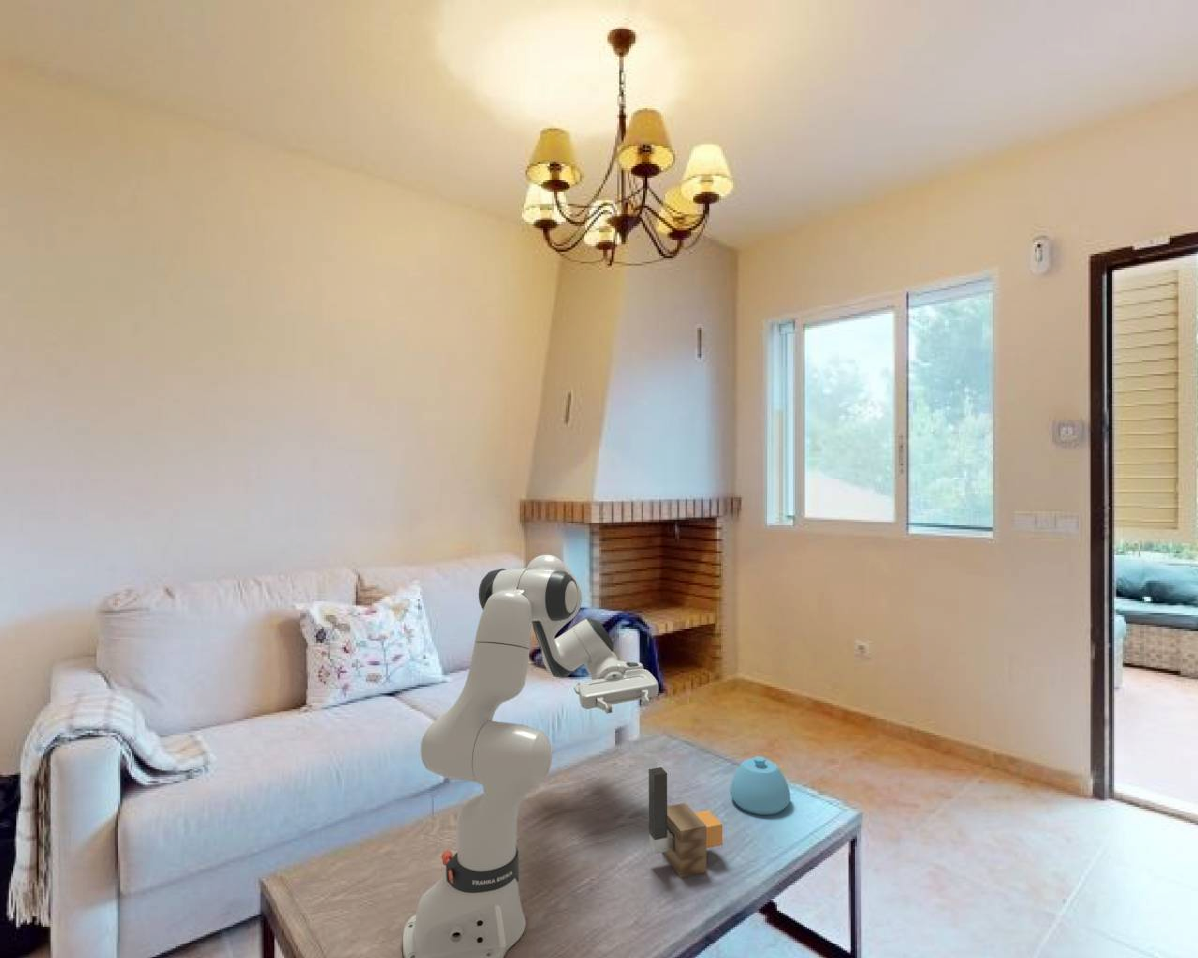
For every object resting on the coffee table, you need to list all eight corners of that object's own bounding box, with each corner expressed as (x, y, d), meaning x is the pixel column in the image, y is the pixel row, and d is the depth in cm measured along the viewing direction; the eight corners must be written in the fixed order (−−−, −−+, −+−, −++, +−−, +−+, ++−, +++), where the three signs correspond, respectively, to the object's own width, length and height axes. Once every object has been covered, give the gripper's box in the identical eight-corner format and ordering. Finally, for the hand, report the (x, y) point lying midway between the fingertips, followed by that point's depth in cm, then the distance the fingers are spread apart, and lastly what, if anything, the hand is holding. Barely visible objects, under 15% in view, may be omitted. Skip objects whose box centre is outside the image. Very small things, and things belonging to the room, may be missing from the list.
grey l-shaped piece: (654, 854, 137) (654, 775, 137) (649, 846, 140) (648, 769, 140) (720, 839, 143) (720, 763, 142) (714, 832, 145) (713, 757, 145)
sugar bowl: (799, 800, 167) (799, 755, 167) (775, 824, 156) (774, 777, 155) (746, 782, 177) (746, 740, 177) (719, 804, 165) (719, 760, 165)
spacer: (706, 848, 140) (706, 827, 139) (692, 833, 145) (692, 813, 145) (722, 844, 141) (722, 824, 141) (708, 829, 147) (708, 809, 147)
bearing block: (681, 877, 136) (680, 830, 135) (661, 851, 145) (661, 807, 145) (706, 871, 138) (706, 825, 137) (685, 846, 147) (685, 802, 147)
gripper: (571, 673, 164) (586, 702, 151) (646, 661, 169) (667, 688, 157) (572, 696, 165) (586, 726, 152) (646, 683, 171) (666, 711, 158)
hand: (628, 707), depth 154 cm, fingers open, 8 cm apart
